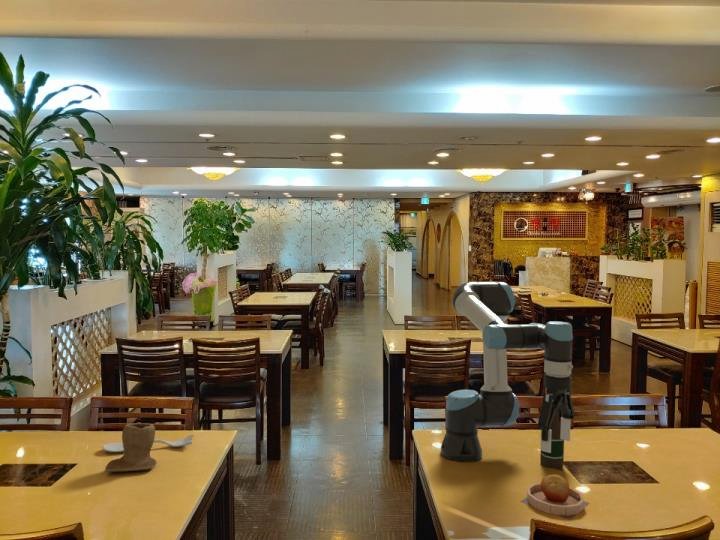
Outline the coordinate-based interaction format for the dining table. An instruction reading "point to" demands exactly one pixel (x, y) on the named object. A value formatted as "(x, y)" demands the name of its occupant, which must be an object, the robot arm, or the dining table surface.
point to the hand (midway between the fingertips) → (555, 445)
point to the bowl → (558, 508)
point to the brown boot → (135, 449)
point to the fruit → (555, 488)
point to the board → (558, 515)
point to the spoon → (181, 442)
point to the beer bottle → (554, 447)
